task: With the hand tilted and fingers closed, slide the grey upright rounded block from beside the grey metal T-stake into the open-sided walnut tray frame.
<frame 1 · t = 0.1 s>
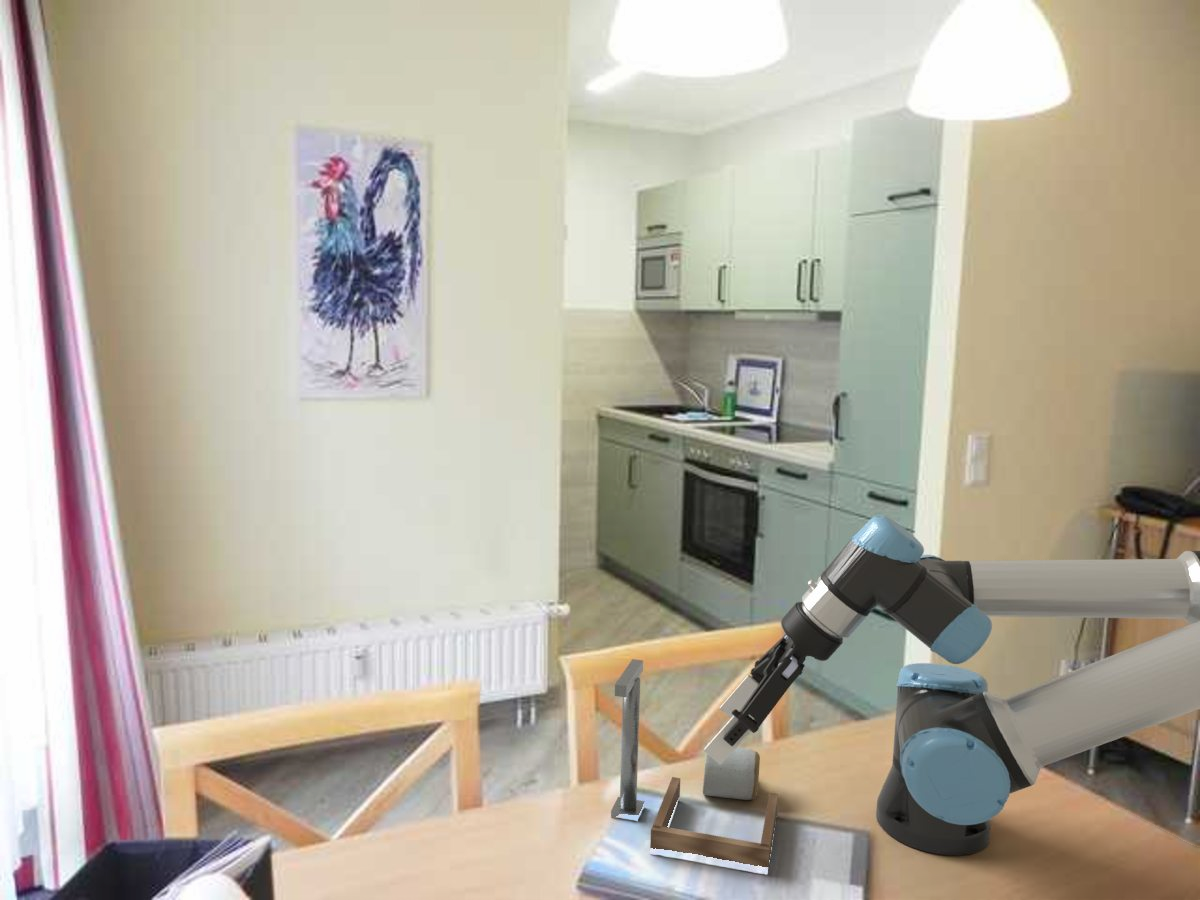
hand: (720, 734, 118), 15 cm above the table, tool tilted 35°, fingers open, 13 cm apart
t stake: (627, 812, 126), on the table
tray frame: (716, 833, 122), on the table
grey upright rounded block: (728, 791, 134), on the table
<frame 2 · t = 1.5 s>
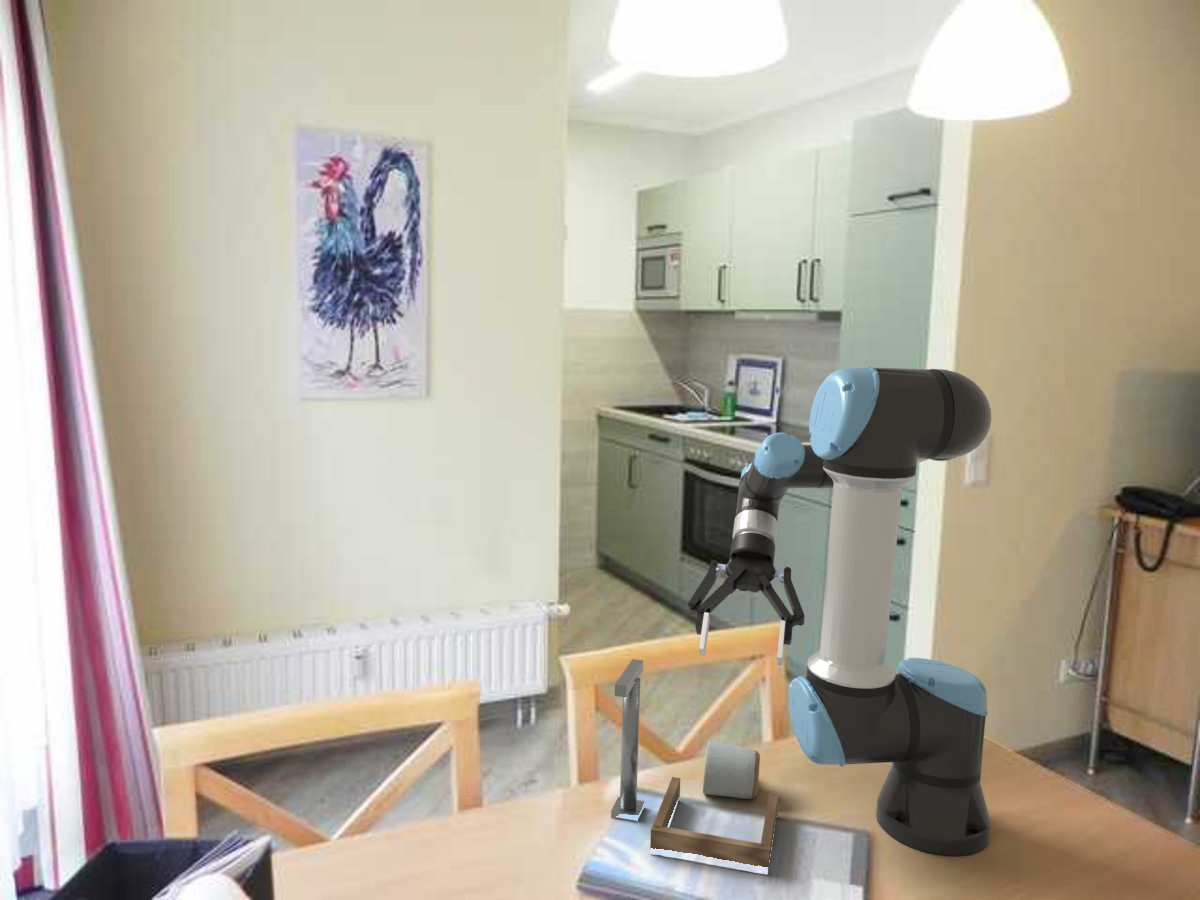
hand: (740, 656, 141), 17 cm above the table, tool tilted 45°, fingers open, 12 cm apart
nothing on the table moved.
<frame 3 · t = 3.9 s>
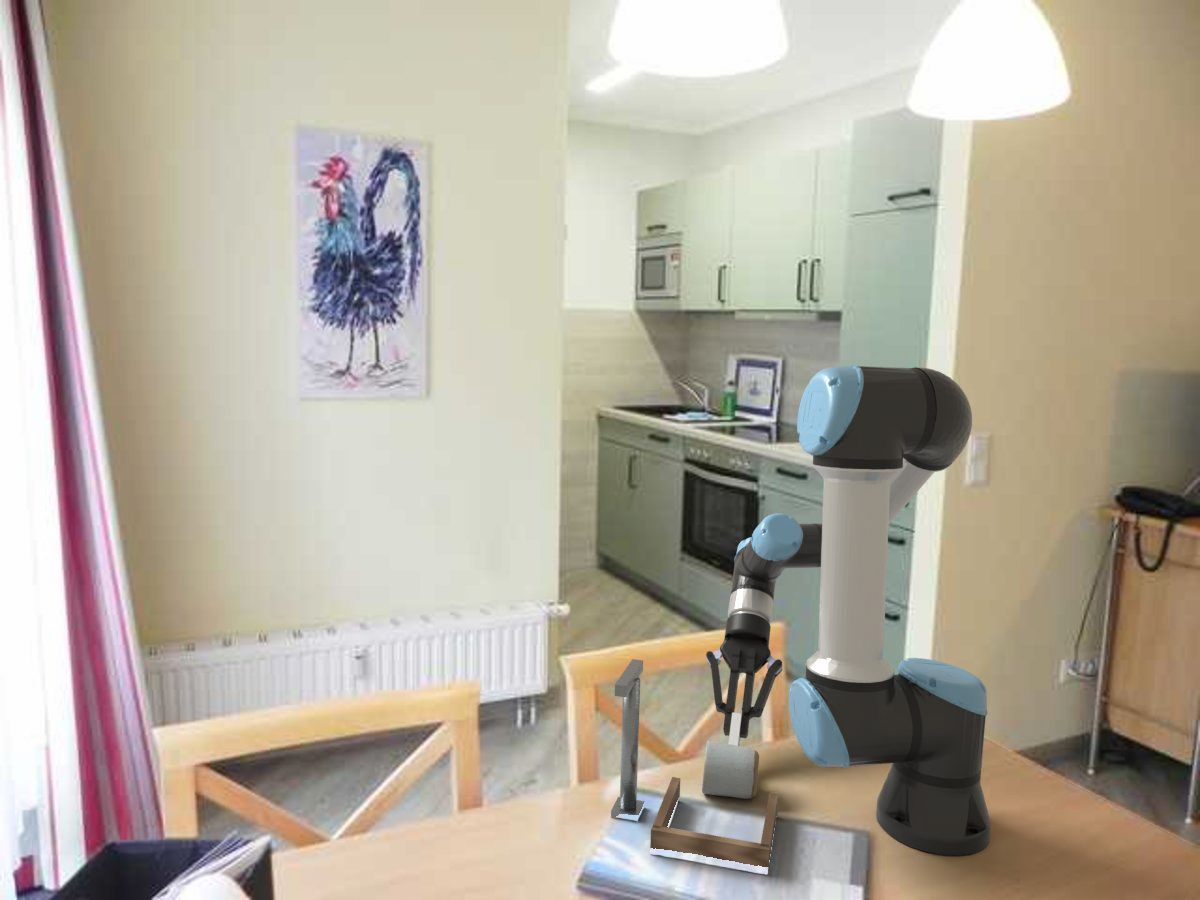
hand: (732, 755, 138), 3 cm above the table, tool tilted 45°, fingers closed
grey upright rounded block: (727, 790, 134), on the table, touching gripper
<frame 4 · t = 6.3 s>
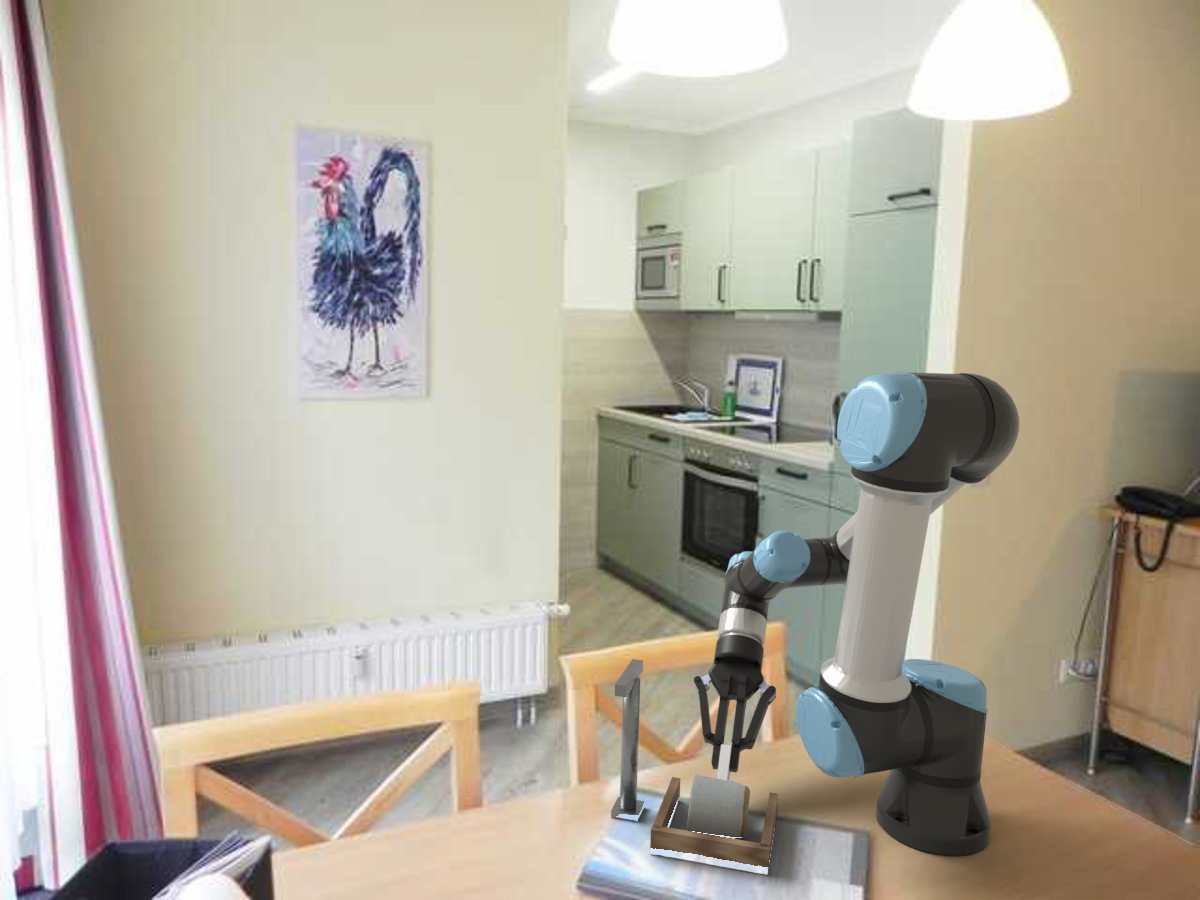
hand: (721, 792, 127), 3 cm above the table, tool tilted 45°, fingers closed
grey upright rounded block: (716, 828, 123), on the table, touching gripper
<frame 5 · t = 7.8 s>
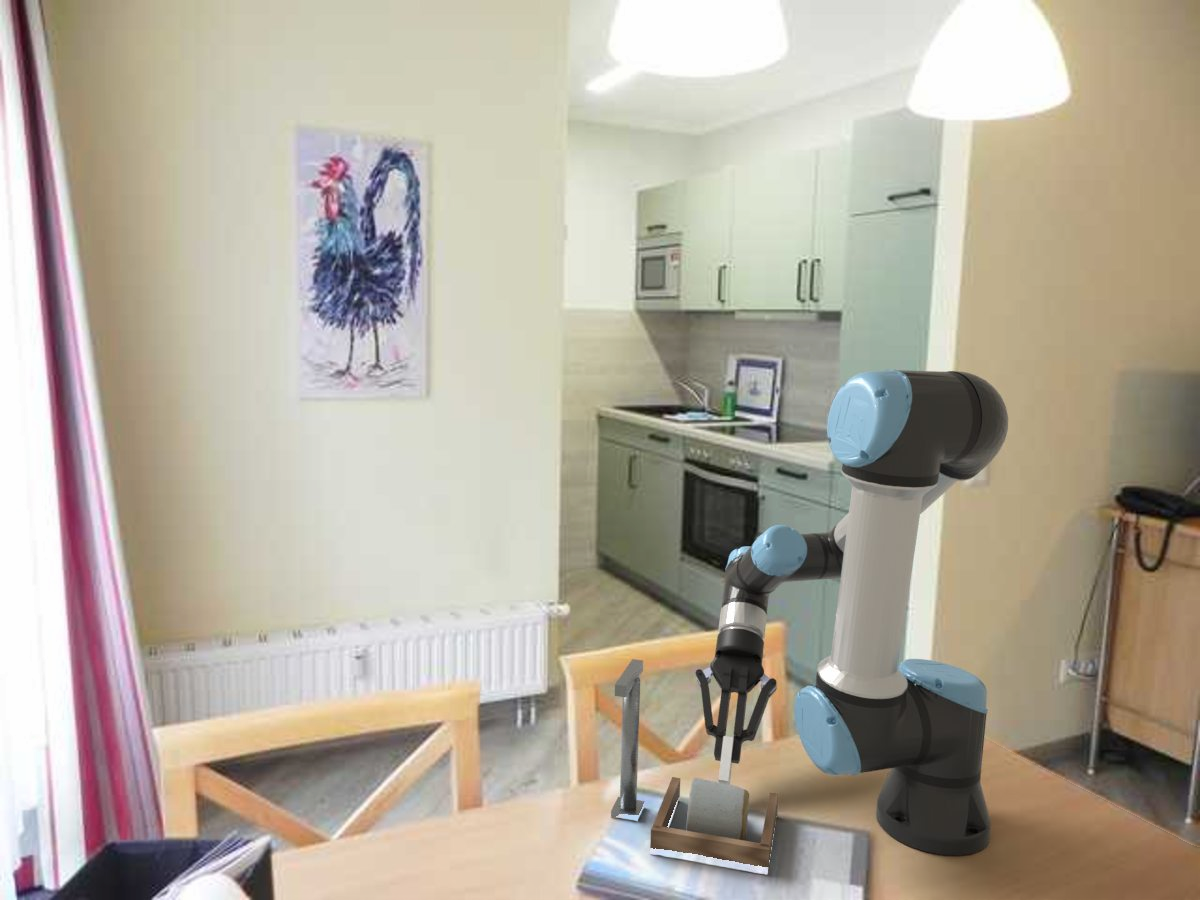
hand: (723, 783, 129), 3 cm above the table, tool tilted 45°, fingers closed
grey upright rounded block: (715, 832, 122), on the table
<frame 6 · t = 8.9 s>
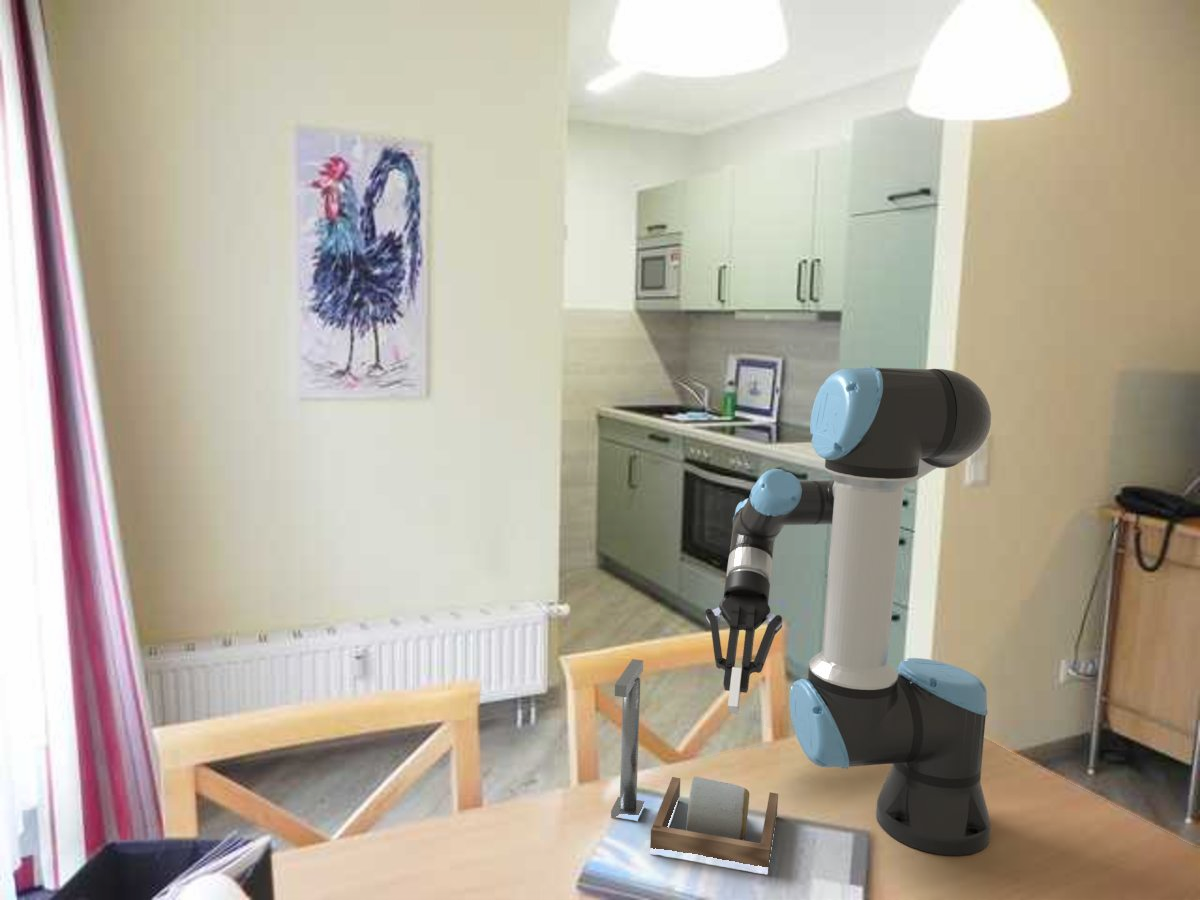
hand: (733, 709, 136), 11 cm above the table, tool tilted 45°, fingers closed
nothing on the table moved.
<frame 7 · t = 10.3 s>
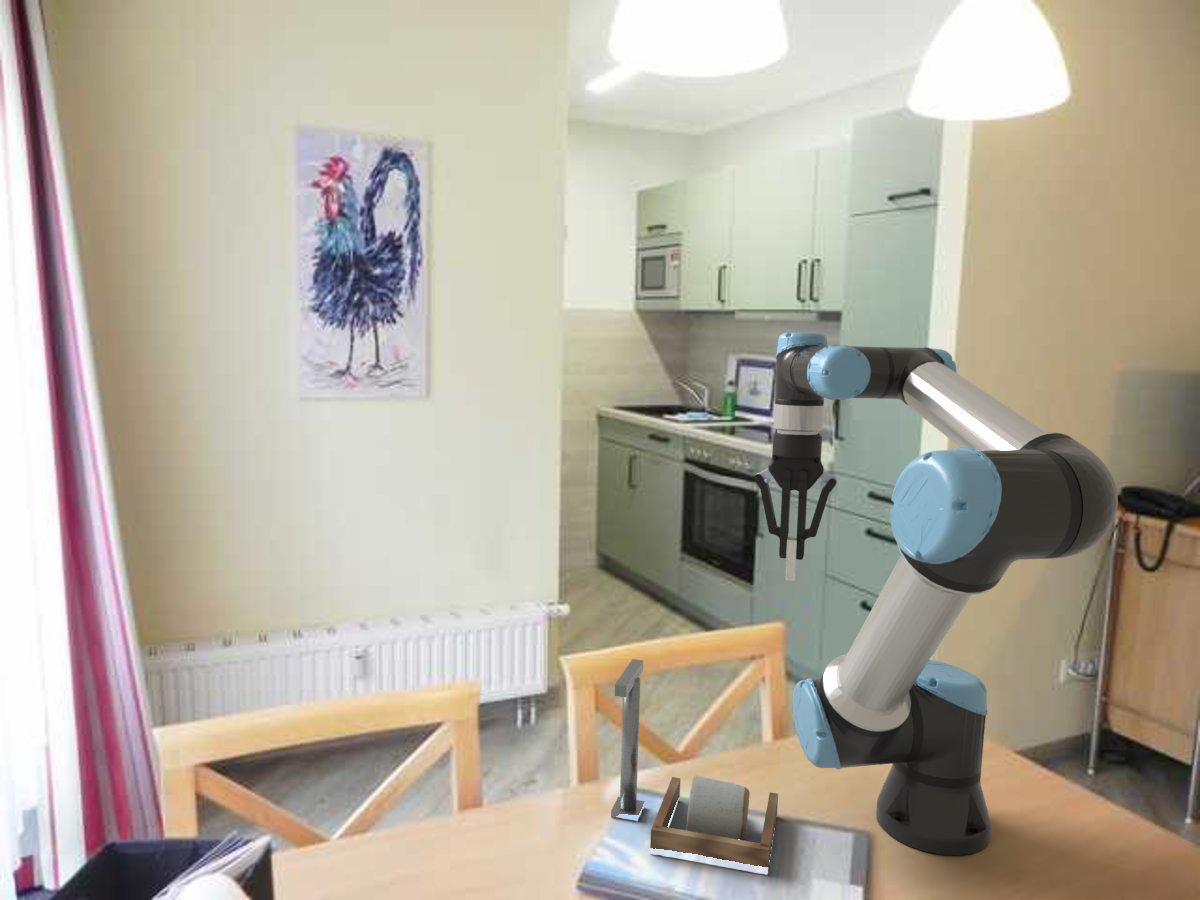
hand: (790, 578, 140), 30 cm above the table, tool pointing down, fingers closed
nothing on the table moved.
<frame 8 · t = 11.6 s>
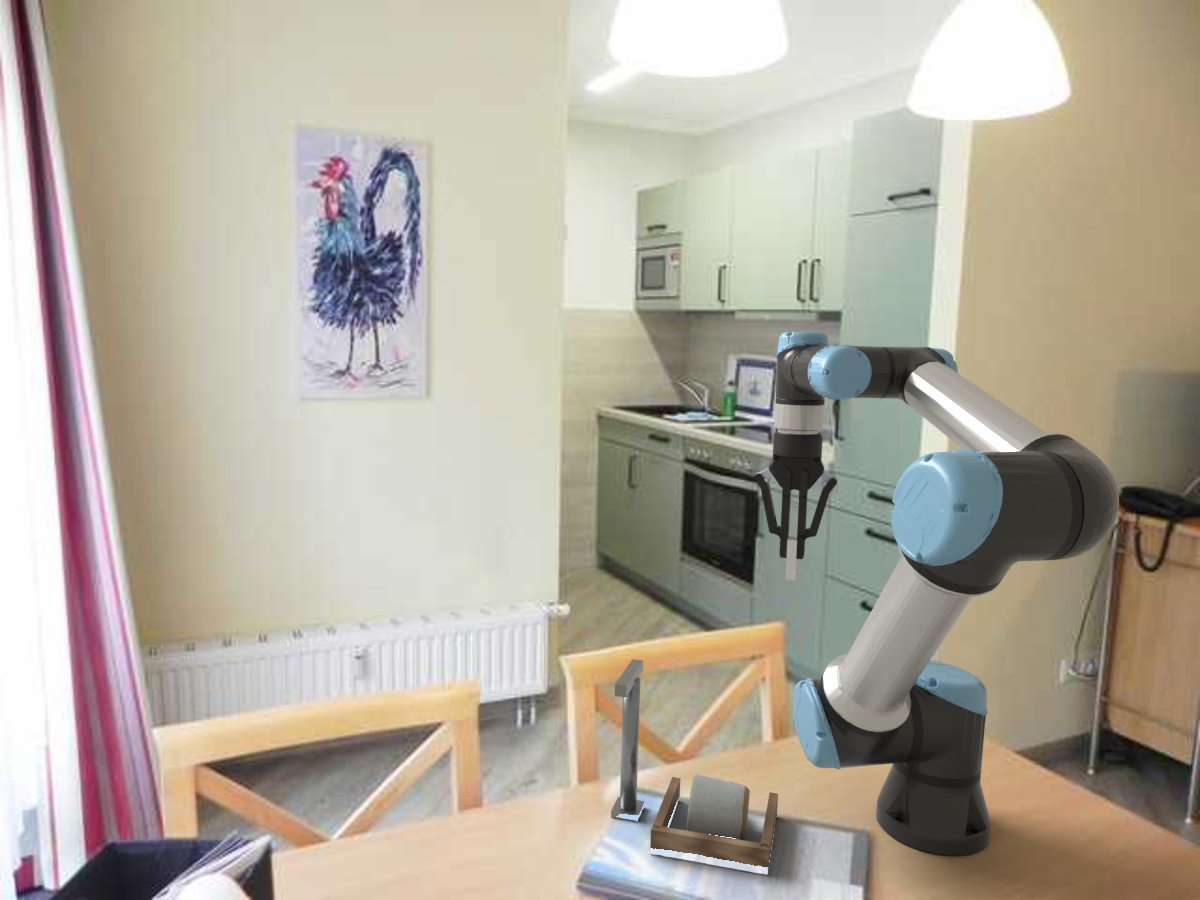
hand: (790, 577, 140), 30 cm above the table, tool pointing down, fingers closed
nothing on the table moved.
at the end: grey upright rounded block inside the target area on the tray frame (2.0 cm from its centre), point 0.0 cm above the tray frame's base; grey upright rounded block tilted 1°; grey upright rounded block moved 10.9 cm from its start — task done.
